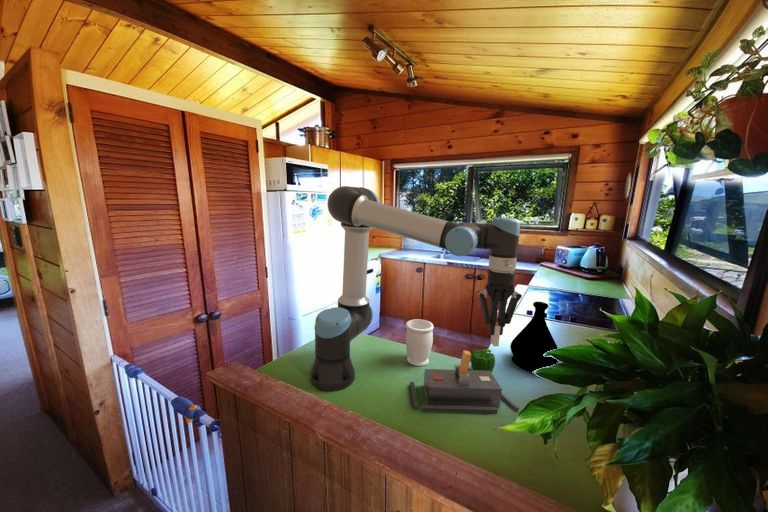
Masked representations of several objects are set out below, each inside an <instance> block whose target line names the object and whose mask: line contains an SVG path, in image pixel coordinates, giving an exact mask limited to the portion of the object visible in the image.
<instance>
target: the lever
mask: <svg viewBox="0 0 768 512" xmlns="http://www.w3.org/2000/svg"><path fill="white" fill-rule="evenodd" d="M471 354H472V353H471V352H470V351H469V350H463V351H462V355H461V359H460V362H459V363H460V364H459V365H460V367H459V372H458V374H459V373H466V374H467V370H469V366H470V363H471Z"/></svg>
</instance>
